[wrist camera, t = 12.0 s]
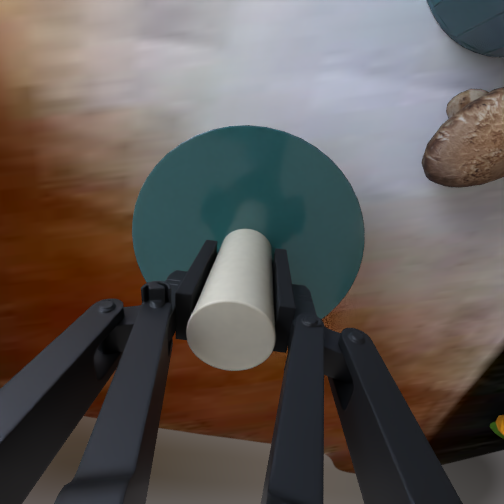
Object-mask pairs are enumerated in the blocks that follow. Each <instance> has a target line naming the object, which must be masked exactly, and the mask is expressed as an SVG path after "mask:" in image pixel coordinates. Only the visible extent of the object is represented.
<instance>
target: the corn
mask: <svg viewBox="0 0 504 504" xmlns="http://www.w3.org/2000/svg"><path fill="white" fill-rule="evenodd" d="M490 428H491V430H492V431H493V432H494V433H496V434H497V435H498V436H499V437H501V438H503V439H504V415H500V416H498V418H497V420H496V422H492V423H491V424H490Z"/></svg>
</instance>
